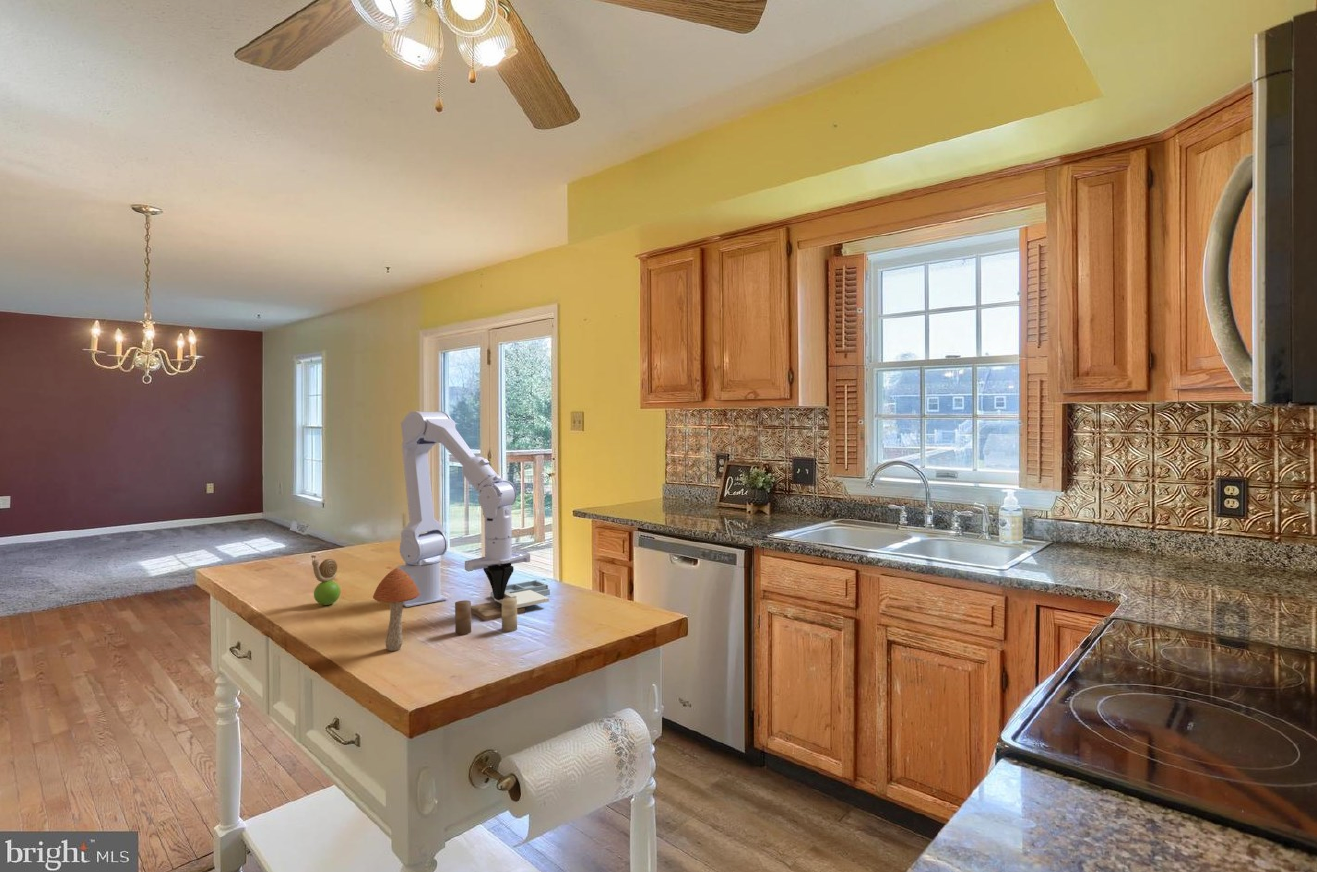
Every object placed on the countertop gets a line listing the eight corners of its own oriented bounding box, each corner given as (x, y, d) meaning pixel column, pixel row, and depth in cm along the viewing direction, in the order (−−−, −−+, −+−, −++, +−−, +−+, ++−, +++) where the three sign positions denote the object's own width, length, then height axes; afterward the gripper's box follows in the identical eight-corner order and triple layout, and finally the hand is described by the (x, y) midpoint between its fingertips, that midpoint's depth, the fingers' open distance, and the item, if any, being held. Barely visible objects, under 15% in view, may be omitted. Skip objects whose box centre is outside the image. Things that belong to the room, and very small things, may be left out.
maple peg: (505, 632, 128) (505, 602, 127) (499, 628, 130) (499, 599, 130) (519, 629, 129) (519, 600, 129) (513, 625, 132) (512, 596, 132)
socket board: (503, 603, 148) (503, 593, 148) (490, 596, 153) (490, 587, 153) (549, 594, 155) (549, 585, 155) (535, 588, 161) (535, 579, 161)
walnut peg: (459, 635, 126) (458, 605, 126) (452, 632, 128) (452, 602, 128) (473, 632, 128) (473, 602, 127) (467, 629, 130) (467, 599, 130)
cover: (512, 609, 139) (511, 597, 139) (494, 599, 146) (494, 588, 146) (549, 601, 144) (548, 590, 144) (530, 593, 151) (529, 582, 151)
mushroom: (429, 643, 121) (428, 564, 121) (399, 658, 114) (398, 574, 113) (395, 639, 124) (394, 561, 124) (363, 653, 116) (362, 571, 116)
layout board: (485, 620, 135) (485, 615, 135) (468, 610, 142) (468, 606, 142) (524, 612, 141) (524, 607, 141) (506, 603, 148) (506, 598, 148)
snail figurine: (304, 607, 145) (303, 554, 144) (328, 600, 151) (328, 549, 150) (322, 610, 143) (321, 556, 142) (346, 602, 149) (345, 550, 148)
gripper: (473, 544, 133) (474, 609, 134) (536, 535, 143) (537, 596, 143) (460, 539, 139) (461, 601, 139) (521, 531, 148) (522, 590, 148)
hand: (498, 598), depth 142 cm, fingers closed
